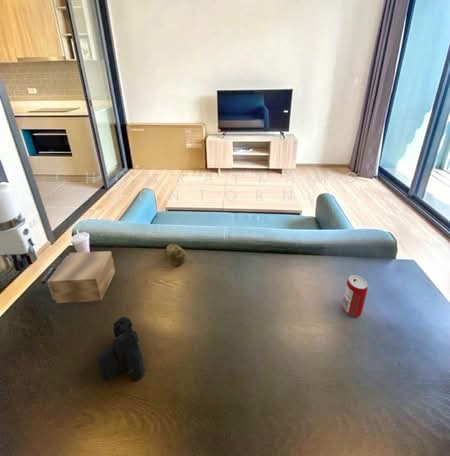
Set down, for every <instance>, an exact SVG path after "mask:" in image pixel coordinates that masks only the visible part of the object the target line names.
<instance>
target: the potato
mask: <svg viewBox="0 0 450 456" xmlns="http://www.w3.org/2000/svg"><path fill="white" fill-rule="evenodd" d="M165 252H166V253H165V254H166V257H167V260H168V261H169V262H170V263H171V265H173V267H174V268H178V267H182V266H183V265H185V263H186V261H187V260H188V254H187V252H186V250H184V249H183V248H182V247H180V246H179V245H177V244H175V243H171V244H168V245H167V247H166V248H165Z"/></svg>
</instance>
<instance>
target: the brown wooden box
mask: <svg viewBox="0 0 450 456" xmlns="http://www.w3.org/2000/svg"><path fill="white" fill-rule="evenodd" d="M66 256H67V258H66V259H65V258H64V259H65V260H64V259H63V260H64V262H63V263H62V262H61V263H62V264H61V263H60V264H61V266H60V267H59V266H58V267H59V268H58V267H57V268H58V270H57V271H56V272H55V271H54V272H55V274H54V275H53V274H52V275H53V276H52V275H51V276H52V278H51V279H50V278H49V279H50V280H49V279H48V280H49V283H50V286H51V289H52V292H53V295H54V298H55V300H54V301H55V303H56V304H69V303H88V302H89V303H91V302H102V301H103V299H104V297H105V294H106V292H107V290H108V288H109V286H110V284H111V282H112V279H113V277H114V275H115V273H116V269H115V264H114V259H113V254H112V250H105V251H90V252H79V253H77V252H69V254H68V255H66Z"/></svg>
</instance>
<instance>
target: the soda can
mask: <svg viewBox="0 0 450 456" xmlns="http://www.w3.org/2000/svg"><path fill="white" fill-rule="evenodd" d="M367 293H368V282H367V280H366V279H364V278H363V277H362V276H359V275H356V274H352V275H350V276H349V277H348V279H347V281H346V284H345V289H344V293H343V298H342V304H341V306H342V307H341V308H342V309H343V311H344V312H345V314H346V315H349V317H354V318H358V317H361V315H362V313H363V309H364V305H365V301H366V298H367Z"/></svg>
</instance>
